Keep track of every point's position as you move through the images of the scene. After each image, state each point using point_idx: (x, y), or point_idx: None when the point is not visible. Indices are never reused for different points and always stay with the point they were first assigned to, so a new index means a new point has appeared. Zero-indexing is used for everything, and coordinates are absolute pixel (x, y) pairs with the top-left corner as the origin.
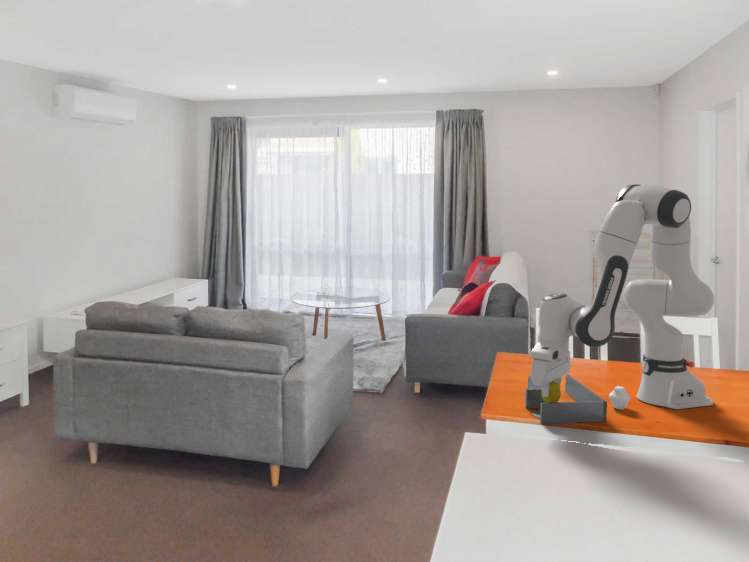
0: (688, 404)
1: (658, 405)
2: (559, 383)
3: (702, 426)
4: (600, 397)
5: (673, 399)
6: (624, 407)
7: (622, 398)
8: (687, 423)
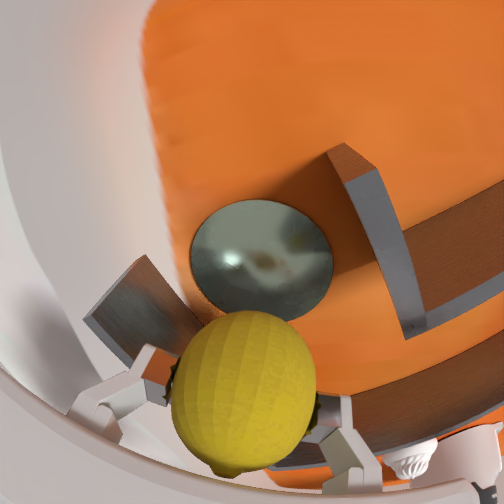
0: None
1: None
2: (324, 455)
3: (317, 479)
4: (314, 467)
5: None
6: None
7: (383, 461)
8: (326, 473)
